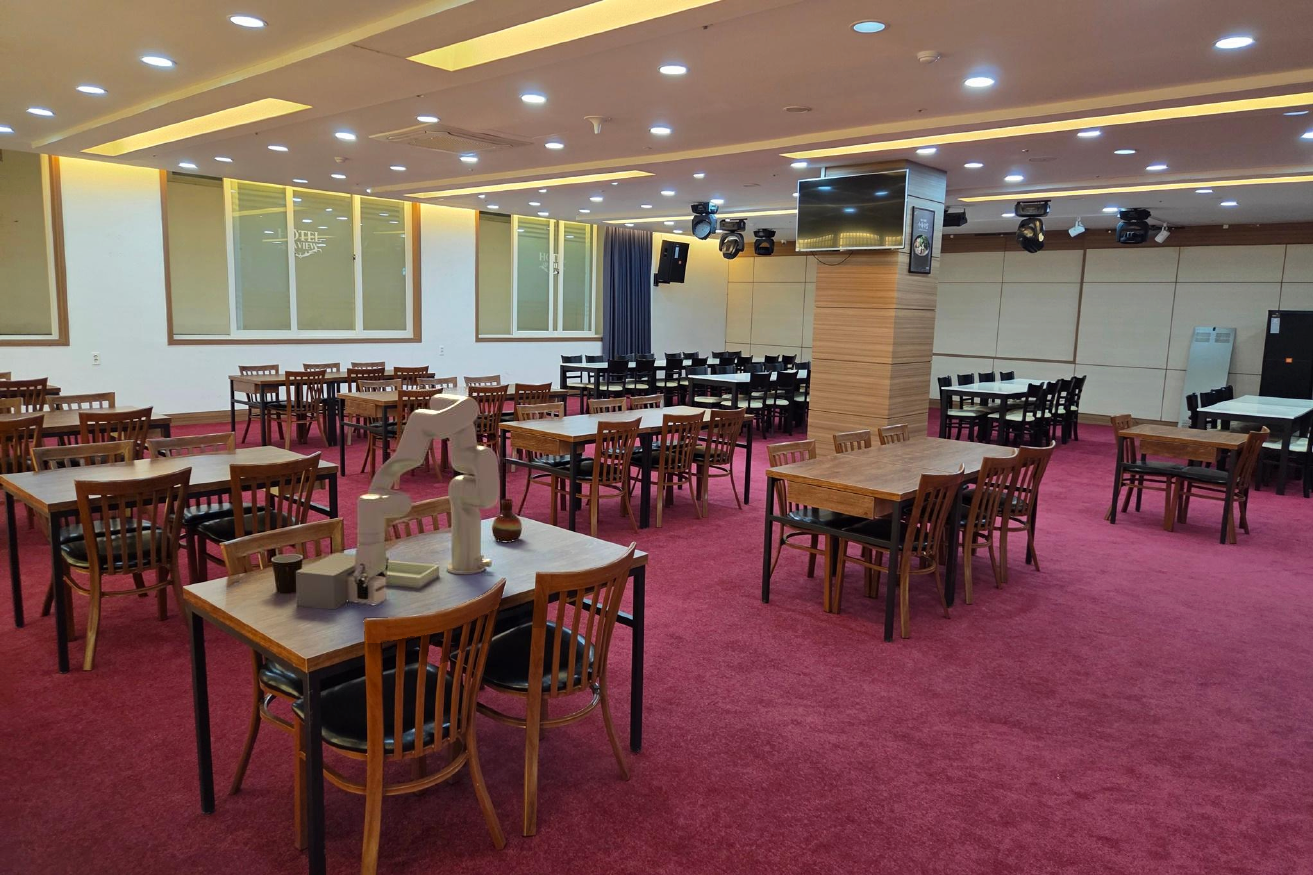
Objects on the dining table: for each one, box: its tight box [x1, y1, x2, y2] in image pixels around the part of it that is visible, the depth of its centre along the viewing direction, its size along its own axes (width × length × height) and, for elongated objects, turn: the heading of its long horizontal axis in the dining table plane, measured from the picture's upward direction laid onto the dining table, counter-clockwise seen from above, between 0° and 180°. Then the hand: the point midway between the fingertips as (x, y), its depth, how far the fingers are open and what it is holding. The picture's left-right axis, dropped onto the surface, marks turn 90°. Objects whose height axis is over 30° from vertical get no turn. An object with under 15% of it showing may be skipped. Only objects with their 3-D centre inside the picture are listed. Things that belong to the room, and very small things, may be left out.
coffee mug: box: [271, 553, 304, 595], centre depth 248 cm, size 12×9×10 cm
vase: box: [491, 498, 523, 542], centre depth 312 cm, size 11×11×15 cm
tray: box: [385, 560, 440, 590], centre depth 264 cm, size 22×13×4 cm, turn 78°
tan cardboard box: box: [347, 572, 388, 605], centre depth 244 cm, size 15×6×7 cm, turn 72°
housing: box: [295, 552, 356, 610], centre depth 246 cm, size 12×20×10 cm, turn 168°
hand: (371, 593), depth 243 cm, fingers open, 9 cm apart
